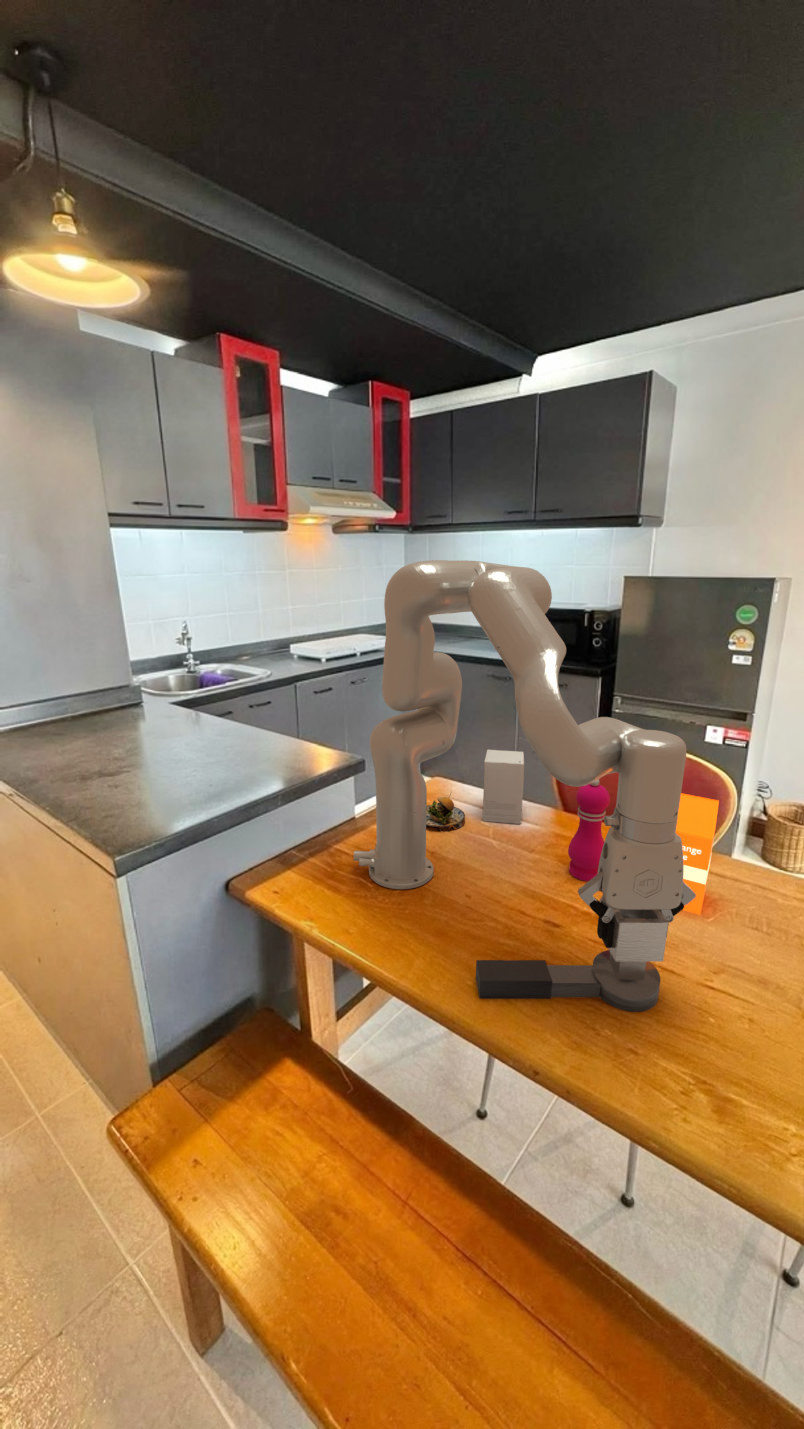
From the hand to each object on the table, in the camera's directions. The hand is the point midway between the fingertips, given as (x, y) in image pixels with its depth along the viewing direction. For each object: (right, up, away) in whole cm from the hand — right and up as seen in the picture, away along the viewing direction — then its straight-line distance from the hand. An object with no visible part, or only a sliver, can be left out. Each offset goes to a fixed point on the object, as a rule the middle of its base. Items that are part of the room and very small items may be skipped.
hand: (630, 940), depth 80 cm
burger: (-23, +6, +54) cm, 59 cm away
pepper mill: (+4, 0, +32) cm, 32 cm away
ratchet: (-8, -8, +2) cm, 11 cm away
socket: (0, -1, 0) cm, 1 cm away
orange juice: (+18, -2, +24) cm, 30 cm away
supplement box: (-8, +7, +57) cm, 58 cm away
